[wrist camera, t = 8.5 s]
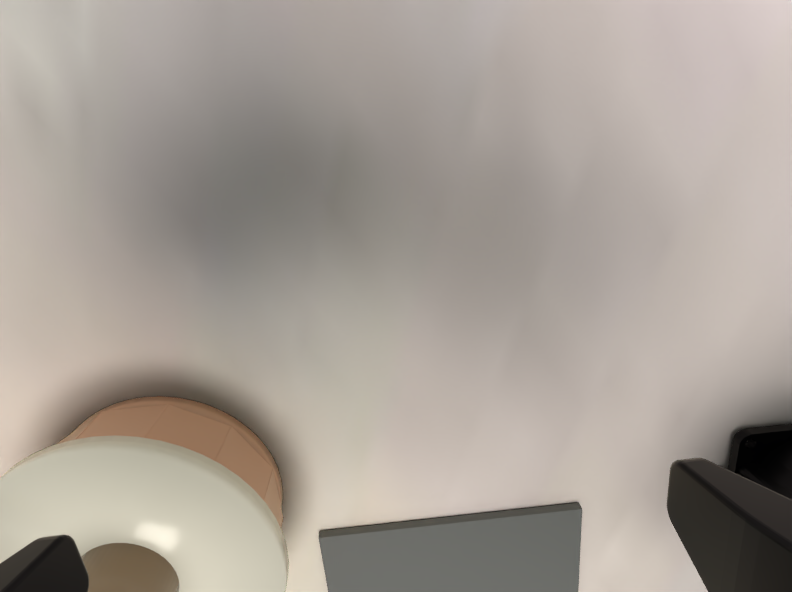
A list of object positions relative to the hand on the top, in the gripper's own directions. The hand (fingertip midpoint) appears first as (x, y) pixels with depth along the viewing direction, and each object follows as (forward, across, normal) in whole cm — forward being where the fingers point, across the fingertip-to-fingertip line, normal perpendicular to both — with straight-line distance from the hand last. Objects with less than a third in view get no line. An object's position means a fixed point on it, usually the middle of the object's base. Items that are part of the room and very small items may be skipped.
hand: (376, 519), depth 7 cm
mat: (+12, -2, +18) cm, 21 cm away
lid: (+8, +10, +8) cm, 15 cm away
